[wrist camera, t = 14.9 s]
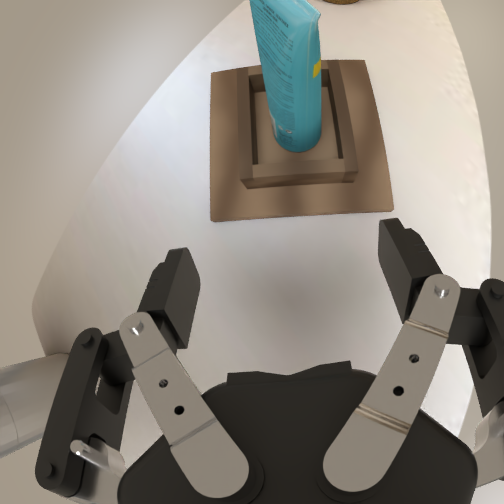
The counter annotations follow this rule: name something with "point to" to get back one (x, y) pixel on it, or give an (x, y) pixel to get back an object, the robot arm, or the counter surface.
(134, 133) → the counter surface
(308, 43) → the tube
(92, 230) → the counter surface
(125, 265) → the counter surface
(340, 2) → the plant pot
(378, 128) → the socket board
